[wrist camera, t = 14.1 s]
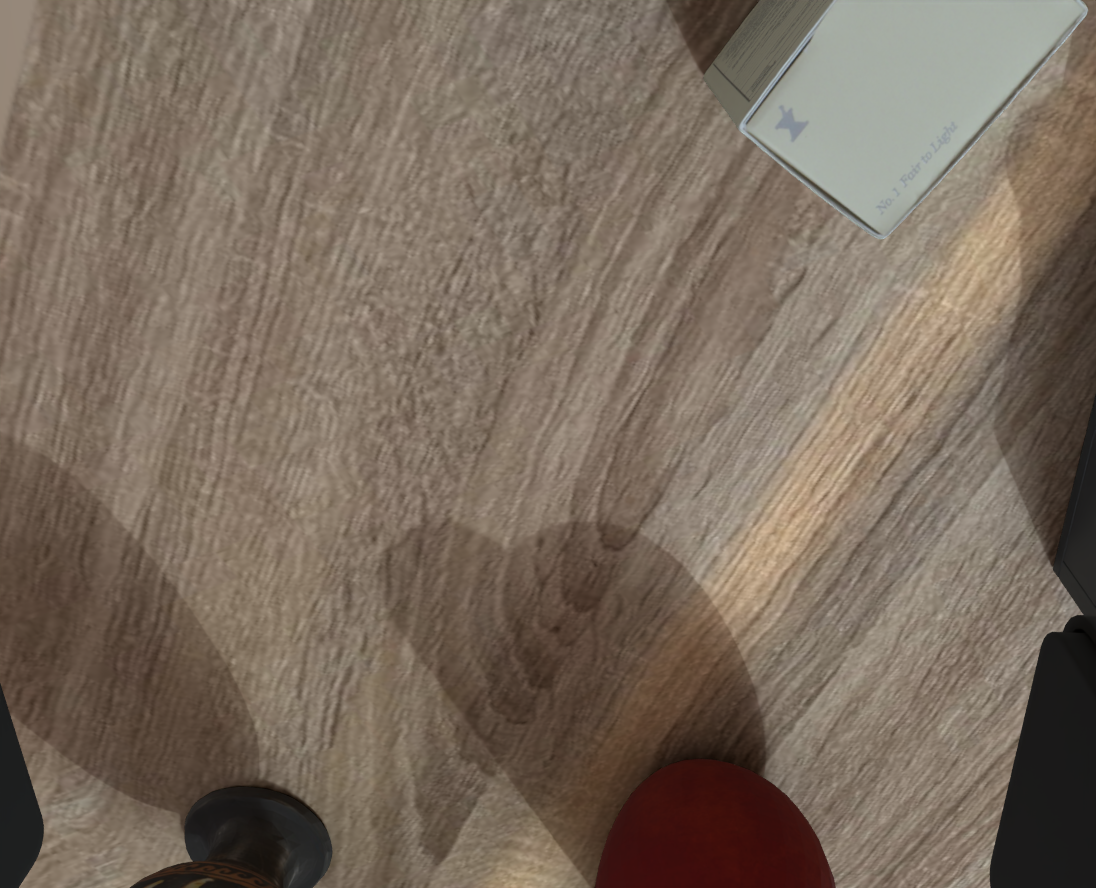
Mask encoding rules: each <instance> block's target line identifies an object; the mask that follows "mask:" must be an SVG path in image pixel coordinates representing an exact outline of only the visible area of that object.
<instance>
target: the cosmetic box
mask: <svg viewBox="0 0 1096 888" xmlns="http://www.w3.org/2000/svg"><path fill="white" fill-rule="evenodd" d="M1087 12H1088V8H1087V6H1086V4H1085V3H1084V2H1083V1H1082V0H760V1H759V2H758V3H757V5H756V6H755V7H754V8H753V10H752V11H751V12H750V14H749V15H748V16H747V17H746V19H745V20H744V21H743V23H742V24H741V25H740V27H739V28H738V29H737V31H736V32H735V33H734V35H733V36H732V37H731V39H730V40H729V41H728V43H727V44H726V45H725V47H724V48H723V49H722V51H721V52H720V54H719V55H718V56H717V58H716V59H715V60H714V62H713V63H712V64H711V66H710V67H709V68H708V70H707V71H706V73H705V74H704V77H703V79H704V81H705V82H706V84H707V85H708V87H709V88H710V89H711V91H712V92H713V93H714V95H715V97H716V98H717V100H718V101H719V102H720V104H721V105H722V107H723V108H724V109H725V111H726V112H727V113H728V115H729V116H730V118H731V119H732V121H733V122H734V123H735V125H736V126H737V128H738V129H739V131H740V132H742V133H743V134H744V135H745V136H747V137H748V138H749V139H750V140H751V141H753V142H754V143H755V144H756V145H757V146H758V147H760V148H761V149H762V150H763V151H764V152H765V153H767V154H768V155H769V156H770V157H771V158H773V159H774V160H775V161H776V162H777V163H779V164H780V165H781V166H782V167H783V168H785V169H786V170H787V171H788V172H789V173H791V174H792V175H793V176H794V177H795V178H797V179H798V180H799V181H800V182H802V183H803V184H804V185H805V186H807V187H808V188H809V189H810V190H812V191H813V192H814V193H816V194H817V195H818V196H819V197H821V198H822V199H823V200H825V201H826V202H827V203H828V204H830V205H831V206H832V207H833V208H835V209H836V210H837V211H839V212H840V213H841V214H843V215H844V216H846V217H847V218H848V219H850V220H851V221H852V222H854V223H855V224H856V225H858V226H859V227H860V228H862V229H863V230H864V231H866V232H867V233H868V234H870V235H871V236H873V237H875V238H877V239H884V238H886V237H887V236H888V235H889V234H890V233H891V232H892V231H893V230H894V229H895V228H896V227H897V226H898V225H899V224H900V223H901V222H902V221H903V220H904V219H905V218H906V217H907V216H908V215H909V214H910V213H911V212H912V211H913V210H914V209H915V208H916V207H917V206H918V205H919V204H920V203H921V202H922V201H923V200H924V199H925V197H926V196H927V195H928V194H929V193H930V192H931V191H932V190H933V189H934V188H935V187H936V186H937V184H938V183H939V182H940V181H941V180H942V179H943V178H944V177H945V176H946V175H947V174H948V172H949V171H950V170H951V169H952V168H953V167H954V166H955V165H956V164H957V163H958V162H959V160H960V159H961V158H962V157H963V156H964V155H965V154H966V153H967V152H968V151H969V150H970V148H971V147H972V146H973V145H974V144H975V143H976V142H977V141H978V140H979V138H980V137H981V136H982V135H983V134H984V132H985V131H986V130H987V129H988V128H989V127H990V126H991V125H992V123H993V122H994V121H995V120H996V119H997V118H998V117H999V116H1000V115H1001V114H1002V112H1003V111H1004V110H1005V109H1006V108H1007V107H1008V106H1009V104H1010V103H1011V102H1012V101H1013V100H1014V99H1015V97H1016V96H1017V95H1018V94H1019V93H1020V92H1021V91H1022V90H1023V88H1024V87H1025V86H1026V85H1027V84H1028V83H1029V82H1030V81H1031V80H1032V78H1033V77H1034V76H1035V75H1036V74H1037V72H1038V71H1039V70H1040V69H1041V68H1042V66H1043V65H1044V64H1045V63H1046V62H1047V61H1048V60H1049V59H1050V58H1051V56H1052V55H1053V54H1054V53H1055V52H1056V50H1057V49H1058V48H1059V47H1060V46H1061V45H1062V44H1063V43H1064V42H1065V40H1066V39H1067V38H1068V37H1069V35H1070V34H1071V33H1072V32H1073V31H1074V29H1075V28H1076V27H1077V25H1078V24H1079V23H1080V22H1081V21H1082V20H1083V19H1084V18H1085V16H1086V15H1087Z"/></svg>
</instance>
